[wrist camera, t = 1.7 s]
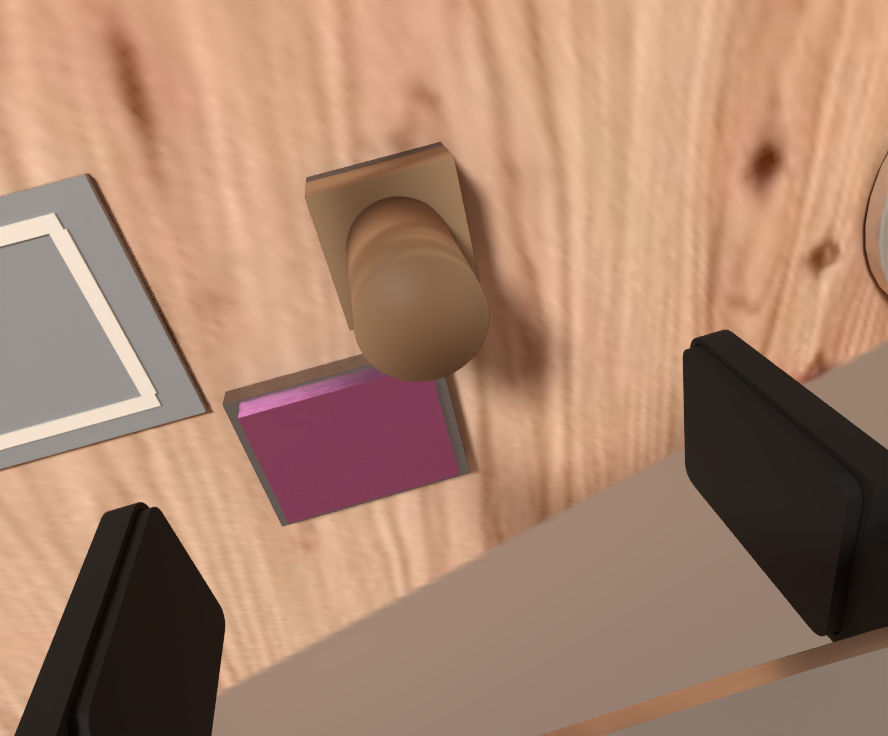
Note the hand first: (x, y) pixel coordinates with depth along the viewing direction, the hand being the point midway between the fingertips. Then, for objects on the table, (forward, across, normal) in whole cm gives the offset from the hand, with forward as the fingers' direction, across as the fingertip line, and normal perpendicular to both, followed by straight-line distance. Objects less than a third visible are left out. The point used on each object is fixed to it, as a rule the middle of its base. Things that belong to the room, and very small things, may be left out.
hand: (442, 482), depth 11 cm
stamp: (+15, -1, 0) cm, 15 cm away
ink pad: (+15, +3, +9) cm, 18 cm away
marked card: (+16, +14, +1) cm, 21 cm away
